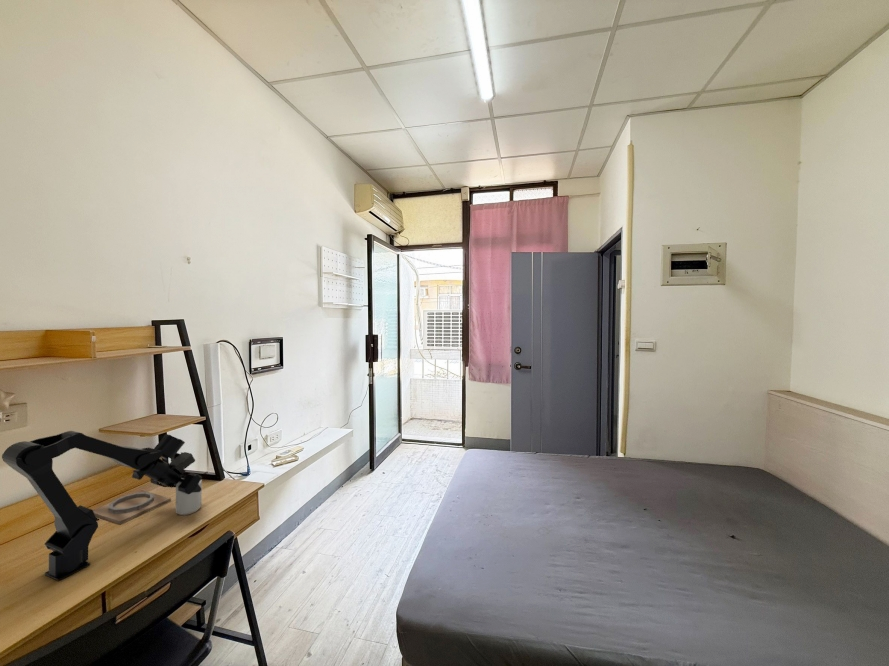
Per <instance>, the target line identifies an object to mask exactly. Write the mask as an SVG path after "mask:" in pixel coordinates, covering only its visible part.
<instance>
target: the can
mask: <svg viewBox="0 0 889 666" xmlns="http://www.w3.org/2000/svg"><path fill="white" fill-rule="evenodd" d="M181 479H183V478H181ZM180 484H181V482H178V483H177V485H176V487H175V513H176V514H178V515H180V516H187V515H190V514H193V513H196V512H197V511H198V510H199V509H200V508H201V507H202V495H203V493H202V490H201V491H200V492H194V493H191V494H185V493H182V492H180V491H178V486H179V485H180ZM198 484H199V486H200V487H201V489H202V487H203V480H202V479H201V480H200V482H199V483H198Z"/></svg>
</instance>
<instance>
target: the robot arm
mask: <svg viewBox="0 0 889 666" xmlns="http://www.w3.org/2000/svg"><path fill="white" fill-rule="evenodd" d="M185 443H186V442H185V441H184V440H183V439H181V438H177V437H176V436H172V434H168V433H167V434H166V433H165V435H164V436H163V437H162V438H161V440H160V441H158V443H157V444H156V445H155V446H154V448H152V447H144V448H138V447H133V446H125V445H117V444H114V443H111V442H108V441H105V440H101V439H98V438H94V437H92V436H89V435H86V434H84V433H83V432H79V431H74V430H67V431H64V432H62V433H59V434H54V435H49V436H45V437H40V438H35V439H34V440H30V441H19V442H15V443H13V444H12V445H10V446H9V447H7V448H6V449H5V450H4V452H3V453H2V455H1V460H2V461H3V462H4V463H5V464H6V465H7V466H9V467H10V468H11V469H13V470H14V471H16V472H17V473H18V474H20V475H22V476H23V477H25V478H26V479H27V481H29V483H30V485H31V487H33V489H34V490H35V491H36V493H37V494H38V496H39V497H40V499H41V500H42V501H43V502H44V504H45V505H46V507H47V508H48V509H49V510H50V512H51V513H52V515H53V516H54V528H55V531H54V533H52V535H51V536H50V537H49V538H48V539H47V540H46V542H45V543H44V547H46V549H47V550H51V551H52V552H49V553H48V571H46V572H44V575H45V576H46V577H49V578H52V579H53V580H55V581H59V582H60V581H62V580H64V579H66V578H68V577H70V576H71V575H73V574H75V573H77V572H79V571H81V570H83V569H85V568H86V567H88V566H90V565H91V562H89V561H88V560H89V545H90V543H91V541H92V538H93V536H94V534H95V533H96V532H97V529H98V528H99V524H98V521H100V519H101V518H98V517H95V514H94V512H93V510H94V509H92V508H89V507H87V506H83V505H81V504H80V505H77V504H76V502H75V501H74V499H73V498H72V497H71V495H70V494H69V492H68V491H67V489H66V488H65V486H64V485H63V483H62V481H60V479H59V478H58V476H57V475H56V473H55V472H54V470H53V461H54V459H56V458H58V457H60V456H62V455H64V454H65V453H68V452H69V451H70V450H73V449H76V450H82V451H84V452H88V453H91V454H92V453H93V454H96V455H99V456H102V457H105V458H108V459H111V460H112V461H113V462H115V463H117V464H118V465H121V466H123V467H127V468H130V469H133V470H132V476H131V478H132V479H135V480H139V481H141V480H142V479H143V477H144V476H146V477H148V478H149V479H150V483H151V484H153V485H156V486H160V487H162V488H171V489H172V488H176V485H177V483H178V482H181V484H180V485H179V486H178V491H180V492H182V493H185V494H191V493H194V492H200V491H201V490H202V489H201V487H200V486H199V484H198V483H199V482H200V480H202V479H203V476H202V475H200V474H199V473H194V472H190V473H188V474H186V475H184V474H185V473H186V472H187V470H185V469H187V468H189V466H190V465H192V464H194V463H195V462H196V459H195V457H194V456H193V454H192V453H190V452H186V451H184V452H180V453H179V451H180V449H182V447H183V446H184V445H185ZM168 459H170V461H171V462H166V461H164V460H168ZM181 478H183V479H181Z"/></svg>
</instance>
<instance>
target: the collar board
mask: <svg viewBox="0 0 889 666" xmlns="http://www.w3.org/2000/svg"><path fill="white" fill-rule="evenodd" d="M171 502H172V498H171V497H167V496H164V495H161V494H157V493H153V492H150V491H146V490H140V491H137V492H135V493H129V494H126V495H123V496H121V497H119V498H116V499H114V500H113V501H112V502H109V503H107V504H103V506H99V507H97V508H95V509H92V510H93V512H94V514H95V517H96V518H98V519H101V520H104V521H107V522H110V523H114V524H117V525H119V526H120V525H123V524H125V523H127V522H129V521H132V520H133V519H135V518H139V517H140V516H142V515H144V514H147V513H148V512H150V511H153V510H155V509H157V508H159V507H162V506H164V505H166V504H168V503H171Z"/></svg>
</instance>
